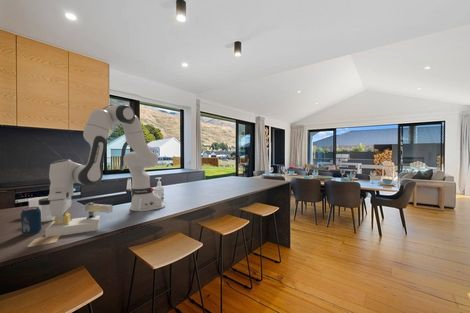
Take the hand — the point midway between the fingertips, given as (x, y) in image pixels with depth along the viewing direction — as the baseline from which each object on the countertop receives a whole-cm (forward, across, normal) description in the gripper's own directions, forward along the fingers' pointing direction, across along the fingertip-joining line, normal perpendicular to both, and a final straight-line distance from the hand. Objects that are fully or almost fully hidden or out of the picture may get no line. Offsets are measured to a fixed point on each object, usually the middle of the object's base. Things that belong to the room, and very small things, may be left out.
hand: (62, 220), depth 102 cm
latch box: (+6, 0, +5) cm, 7 cm away
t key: (+1, -1, +15) cm, 15 cm away
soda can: (+6, -5, -13) cm, 15 cm away
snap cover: (+2, 0, 0) cm, 2 cm away
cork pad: (+6, +10, -4) cm, 12 cm away
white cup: (+6, -41, -21) cm, 46 cm away
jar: (+6, -26, -12) cm, 29 cm away
